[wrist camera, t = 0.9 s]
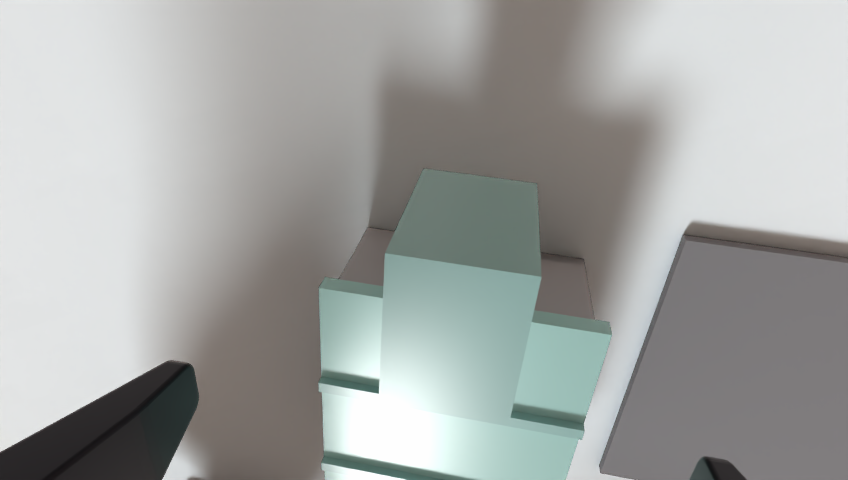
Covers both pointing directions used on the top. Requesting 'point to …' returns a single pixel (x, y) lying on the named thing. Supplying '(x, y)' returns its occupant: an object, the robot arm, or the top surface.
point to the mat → (740, 368)
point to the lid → (455, 347)
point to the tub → (557, 288)
